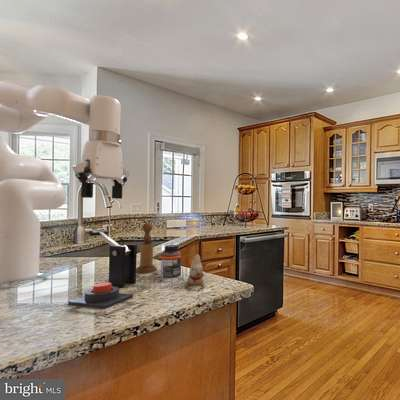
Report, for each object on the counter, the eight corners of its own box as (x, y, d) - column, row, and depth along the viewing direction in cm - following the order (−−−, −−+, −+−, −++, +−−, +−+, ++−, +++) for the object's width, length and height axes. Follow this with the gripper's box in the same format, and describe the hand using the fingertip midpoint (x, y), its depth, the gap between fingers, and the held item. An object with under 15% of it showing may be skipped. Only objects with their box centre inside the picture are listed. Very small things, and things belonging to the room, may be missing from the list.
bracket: (94, 292, 77) (96, 246, 77) (119, 284, 85) (120, 242, 85) (125, 296, 75) (127, 248, 75) (147, 287, 83) (149, 244, 83)
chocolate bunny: (180, 291, 80) (181, 256, 80) (190, 283, 88) (190, 251, 88) (200, 291, 80) (201, 256, 80) (208, 283, 88) (208, 251, 88)
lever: (87, 235, 80) (91, 228, 79) (103, 234, 85) (106, 227, 84) (117, 259, 77) (121, 252, 77) (132, 256, 82) (135, 249, 82)
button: (88, 293, 65) (89, 285, 65) (102, 288, 69) (103, 281, 69) (101, 294, 65) (101, 287, 65) (115, 290, 68) (115, 282, 68)
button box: (67, 311, 64) (68, 293, 64) (99, 299, 72) (100, 284, 72) (104, 315, 62) (104, 297, 62) (132, 303, 70) (133, 287, 70)
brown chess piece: (147, 278, 93) (148, 223, 93) (130, 276, 94) (132, 223, 94) (160, 273, 99) (162, 222, 100) (145, 272, 101) (146, 222, 101)
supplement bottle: (168, 276, 95) (169, 243, 95) (184, 278, 94) (185, 244, 94) (156, 281, 89) (157, 246, 89) (173, 283, 88) (173, 246, 88)
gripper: (118, 146, 91) (117, 198, 91) (63, 132, 74) (61, 197, 74) (138, 145, 90) (136, 199, 89) (87, 131, 73) (84, 197, 72)
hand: (102, 198), depth 82 cm, fingers open, 9 cm apart
